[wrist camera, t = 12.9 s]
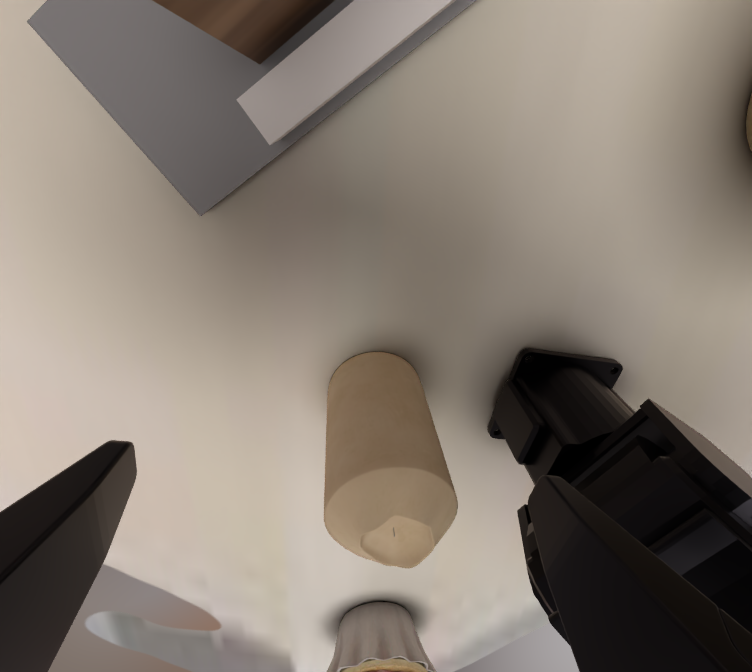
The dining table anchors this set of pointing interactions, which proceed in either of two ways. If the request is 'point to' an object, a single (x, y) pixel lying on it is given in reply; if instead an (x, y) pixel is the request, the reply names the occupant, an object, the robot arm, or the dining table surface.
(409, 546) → the candle
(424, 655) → the cupcake
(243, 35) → the door
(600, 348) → the dining table surface
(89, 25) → the board
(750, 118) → the plant pot
